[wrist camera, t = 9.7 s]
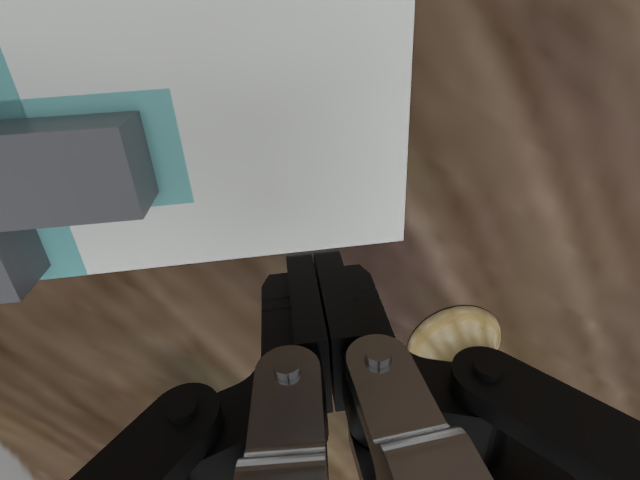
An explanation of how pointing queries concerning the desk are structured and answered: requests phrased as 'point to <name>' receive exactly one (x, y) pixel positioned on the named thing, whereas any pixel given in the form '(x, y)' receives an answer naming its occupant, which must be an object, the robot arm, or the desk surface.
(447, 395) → the robot arm
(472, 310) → the hand bell
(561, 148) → the desk surface
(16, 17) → the runner mat
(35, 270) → the t block
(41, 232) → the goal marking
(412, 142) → the desk surface
